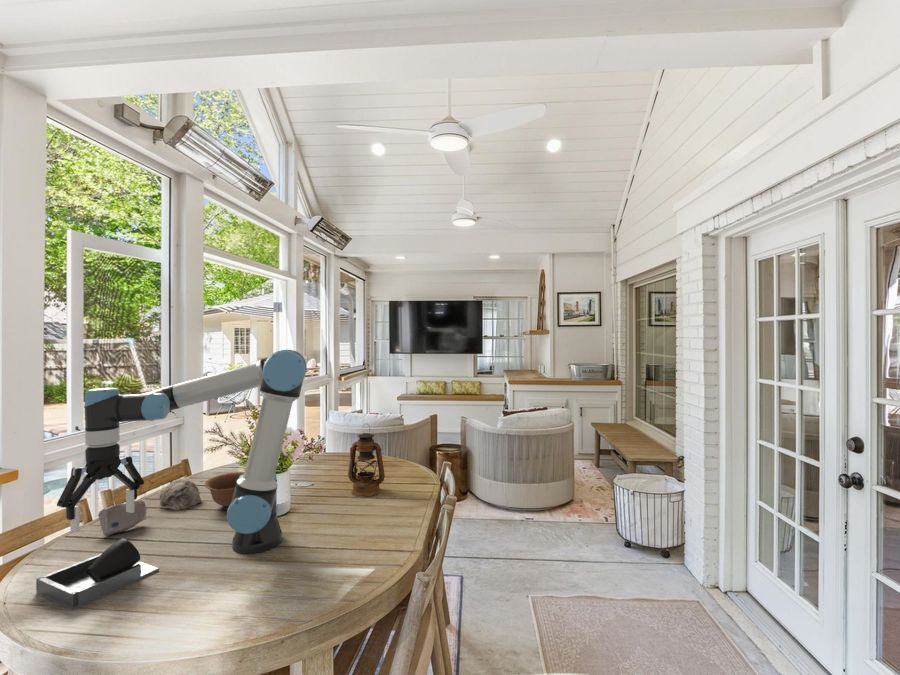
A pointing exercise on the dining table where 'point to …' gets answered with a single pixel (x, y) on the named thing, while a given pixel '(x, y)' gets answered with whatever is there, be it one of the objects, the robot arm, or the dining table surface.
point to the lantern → (366, 479)
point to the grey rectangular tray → (86, 583)
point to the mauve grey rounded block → (121, 517)
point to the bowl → (223, 488)
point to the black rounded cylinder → (114, 560)
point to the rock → (180, 495)
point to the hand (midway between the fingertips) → (104, 521)
